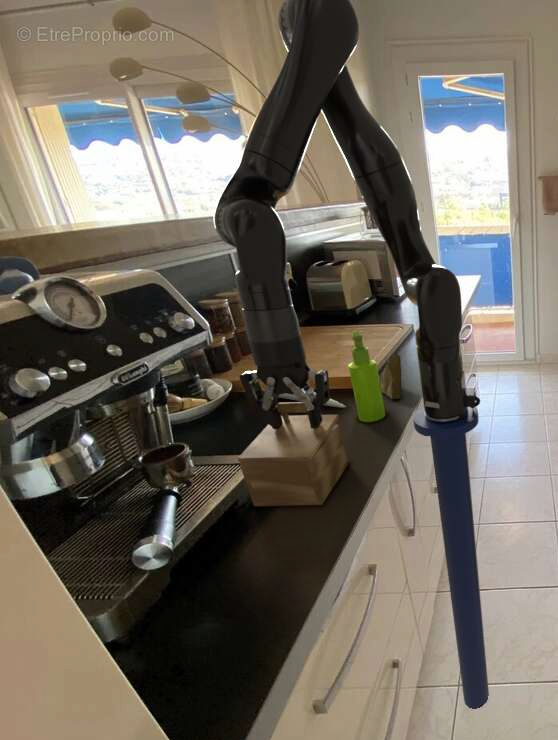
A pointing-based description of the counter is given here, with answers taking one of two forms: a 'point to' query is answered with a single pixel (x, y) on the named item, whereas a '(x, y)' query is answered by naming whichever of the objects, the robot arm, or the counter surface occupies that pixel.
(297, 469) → the caddy
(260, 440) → the lid
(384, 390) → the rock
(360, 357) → the soap dispenser
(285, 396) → the unicorn horn
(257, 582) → the counter surface
